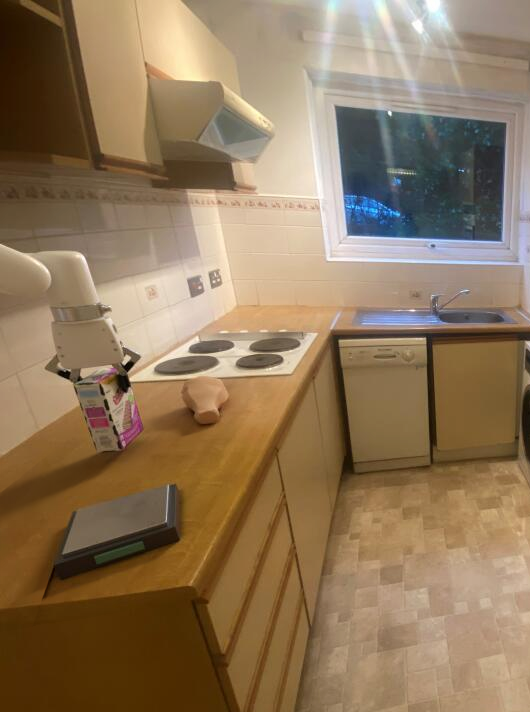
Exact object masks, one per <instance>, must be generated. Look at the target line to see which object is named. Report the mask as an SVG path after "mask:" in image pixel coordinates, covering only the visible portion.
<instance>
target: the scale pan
mask: <svg viewBox="0 0 530 712" xmlns="http://www.w3.org/2000/svg"><path fill="white" fill-rule="evenodd" d="M169 485H170V484H164V485H161V486H157V487H154V488H150V489H146V490H143V491H140V492H136V493H132V494H128V495H125V496H121V497H117V498H113V499H109V500H106V501H102V502H98V503H95V504H91V505H87V506H84V507H81V508H80V507H79V508H78V509H77V510H76V511H77V512H76V515H75V518H74V521H73V524H72V527H71V530H70V533H69V535H68V538H67V541H66V544H65V547H64V550H63V553H62V555H63V557H64V558H65V557H68V556H72V555H75V554H78V553H81V552H84V551H88V550H91V549H94V548H97V547H100V546H104V545H107V544H110V543H113V542H116V541H120V540H123V539H126V538H129V537H132V536H135V535H139V534H142V533H145V532H148V531H151V530H155V529H158V528H161V527H164V526H167V525H168V509H169V489H170V487H169Z"/></svg>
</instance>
